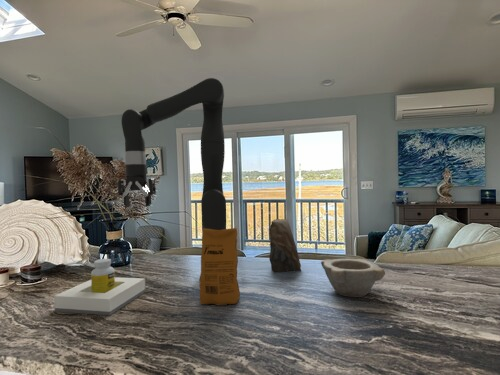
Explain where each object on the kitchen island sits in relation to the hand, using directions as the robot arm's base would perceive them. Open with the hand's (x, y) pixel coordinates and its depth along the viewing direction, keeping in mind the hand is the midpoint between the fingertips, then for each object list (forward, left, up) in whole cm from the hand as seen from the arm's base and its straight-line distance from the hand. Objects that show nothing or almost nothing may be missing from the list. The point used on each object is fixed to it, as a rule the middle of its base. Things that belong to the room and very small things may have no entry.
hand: (137, 206), depth 115 cm
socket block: (-1, +22, -28) cm, 35 cm away
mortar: (-77, +4, -28) cm, 82 cm away
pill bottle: (-1, +22, -27) cm, 34 cm away
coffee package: (-37, +16, -28) cm, 49 cm away
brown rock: (-54, -19, -28) cm, 64 cm away
